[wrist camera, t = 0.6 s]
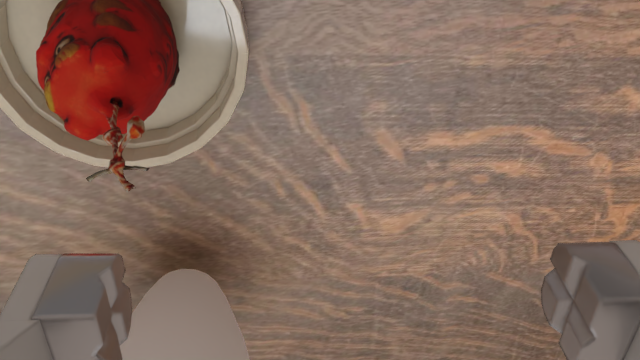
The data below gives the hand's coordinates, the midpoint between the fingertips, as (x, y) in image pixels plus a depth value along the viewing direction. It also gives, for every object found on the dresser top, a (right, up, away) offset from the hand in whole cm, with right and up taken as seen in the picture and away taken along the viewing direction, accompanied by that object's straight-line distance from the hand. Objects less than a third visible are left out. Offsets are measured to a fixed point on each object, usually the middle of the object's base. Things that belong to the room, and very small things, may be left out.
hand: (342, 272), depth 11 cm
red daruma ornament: (-12, +10, +23) cm, 28 cm away
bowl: (-12, +10, +23) cm, 28 cm away
